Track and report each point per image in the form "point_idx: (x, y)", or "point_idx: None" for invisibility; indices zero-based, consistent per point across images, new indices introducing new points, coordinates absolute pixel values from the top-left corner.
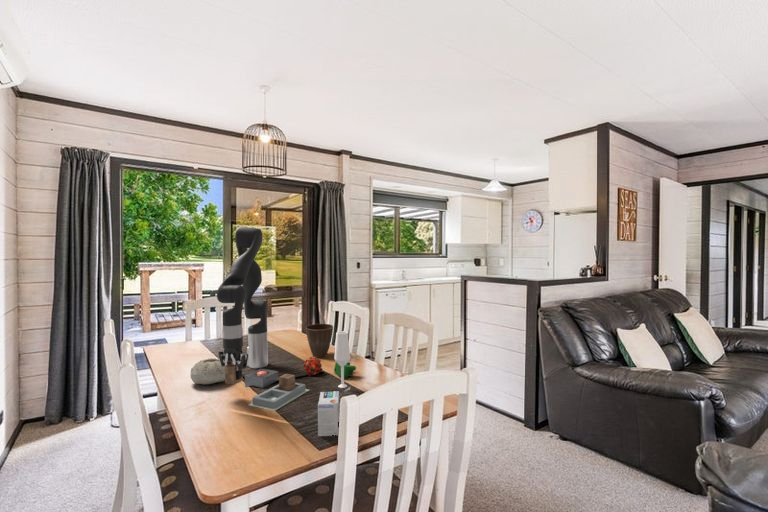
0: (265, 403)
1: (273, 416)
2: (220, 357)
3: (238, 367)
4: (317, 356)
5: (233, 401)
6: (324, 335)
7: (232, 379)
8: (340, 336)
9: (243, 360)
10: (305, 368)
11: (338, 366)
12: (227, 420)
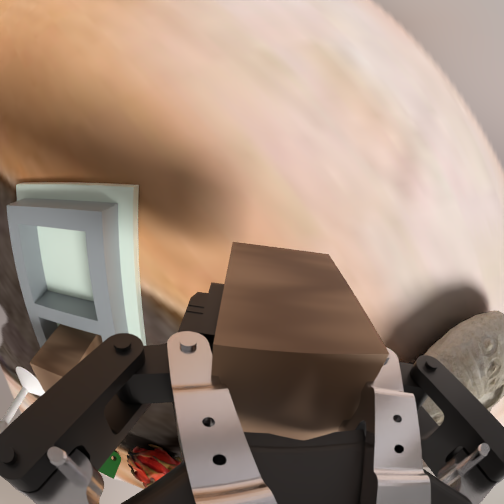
0: (45, 202)
1: (16, 160)
2: (483, 422)
3: (169, 366)
4: None
5: (262, 227)
6: None
7: (245, 261)
8: None
9: (22, 413)
10: (162, 464)
11: None
12: (141, 44)
